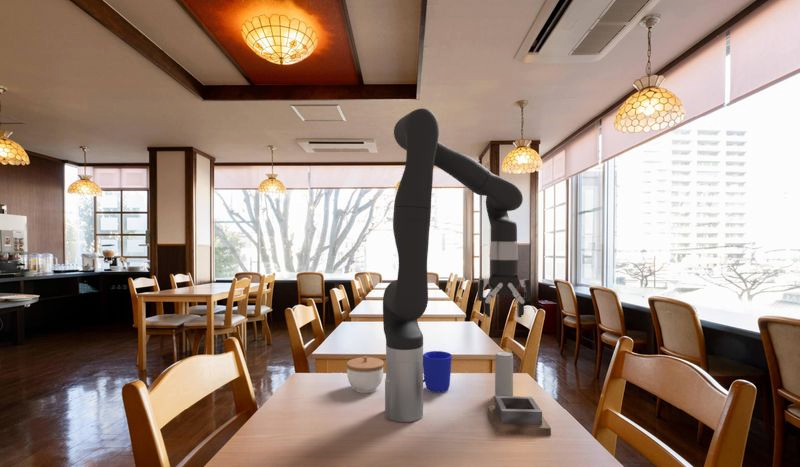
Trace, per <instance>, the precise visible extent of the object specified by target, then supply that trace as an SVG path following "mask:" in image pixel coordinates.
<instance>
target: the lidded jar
mask: <svg viewBox="0 0 800 467" xmlns="http://www.w3.org/2000/svg"><path fill="white" fill-rule="evenodd" d="M384 365H385V362H384V360H382V359H381V358H377V357H371V356H370V357H369V356H366V355H364V356H362V357H356V358H352V359H349V360H348V361H347V362H346V374H347V379H348V384H350V386H351V387H352V388H353V389H354V391H355V392H357V393H360V394H368V393H369V394H370V393H373V392H375V391H376V389H377V388H378V387H379V386H380V385H381V383H382V380H383V377H384Z"/></svg>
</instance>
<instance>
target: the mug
mask: <svg viewBox="0 0 800 467" xmlns="http://www.w3.org/2000/svg"><path fill="white" fill-rule="evenodd" d="M452 357H453V356H452V353H449V352H446V351H441V350H433V351H432V350H431V351H430V350H429V351H426V352H423V383H425V384H424V385H425V388H426V389H427V390H428V391H429V392H432V393H444V392H446V391H449V388H450V385H451V374H452V373H451V372H452V360H453V358H452Z"/></svg>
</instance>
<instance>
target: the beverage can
mask: <svg viewBox="0 0 800 467" xmlns="http://www.w3.org/2000/svg"><path fill="white" fill-rule="evenodd" d="M494 396H514V356H513V353H512V352H510V351H506V350H504V351H503V350H501V351H500V350H499V351H496V352H495V355H494Z"/></svg>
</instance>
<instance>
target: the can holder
mask: <svg viewBox="0 0 800 467" xmlns="http://www.w3.org/2000/svg"><path fill="white" fill-rule="evenodd" d="M487 412H488V416H489V418H490V420H491V421H490V422H491V423H492V425H493V428H494V430H495V434H496V435H532V436H534V435H535V436H536V435H539V436H541V435H542V436H551V435H552V428H551V427H550V425H549V423H548V422H547V421H546V419H545V417H544V416H543V411H542V410H541V408H540V407H539V405H538V404H537V402H536V401H535V399H534V398H533V396H517V395H515V396H514V395H513V396H496V395H494V405H487Z"/></svg>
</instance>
